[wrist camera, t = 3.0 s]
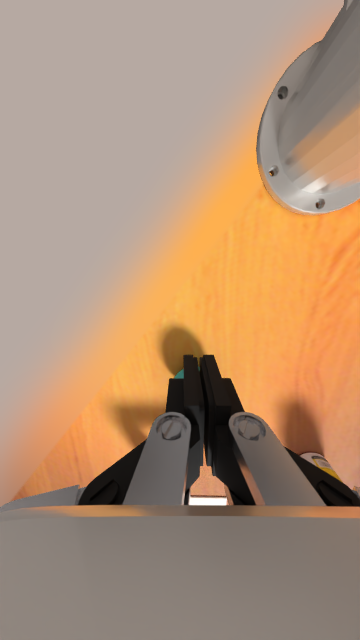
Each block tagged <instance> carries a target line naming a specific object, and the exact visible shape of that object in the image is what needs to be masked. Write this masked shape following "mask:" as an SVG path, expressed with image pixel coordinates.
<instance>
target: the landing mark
mask: <svg viewBox="0 0 360 640" xmlns="http://www.w3.org/2000/svg"><path fill="white" fill-rule="evenodd" d="M226 501H227V498H226V497H196V496H190V503H189V505H226Z"/></svg>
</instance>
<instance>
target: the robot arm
mask: <svg viewBox="0 0 360 640" xmlns="http://www.w3.org/2000/svg"><path fill="white" fill-rule="evenodd" d="M256 151H257V164H258V168H259V172H260V176H261V179H262V181H263V183H264V185H265V188H266V190H267V191H268V192H269V194H270V195H271V196H272V198H273V199H274V200H275V201H276V202H278V203H279V204H280V205H281V206H282V207H284V208H286V209H288V210H290V211H291V212H294V213H298V214H302V215H320V214H326V213H330V212H333V211H336V210H339V209H341V208H344V207H346V206H348V205H350V204H352V203H354V202H355V201H357V200H358V199H360V0H344V6H343V8H342V9H341V11H340V12H339V14H338V16H337V17H336V19H335V20H334V22H333V24H332V25H331V27H330V29H329V30H328V32H327V33H326V35H325V37H324V38H323V40H321V41H319V42H317V43H315V44H314V45H312V46H311V47H310V48H308V49H307V50H306V51H304V52H303V53H302V54H301V55H300V56H299V57H298V58H297V59H296V60H295V61H294V62H293V63H292V64H291V65H290V66H289V67H288V68H287V70H286V71H285V73H284V74H283V76H282V77H281V78H280V80H279V81H278V83H277V85H276V87H275V89H274V90H273V92H272V94H271V96H270V98H269V100H268V102H267V105H266V107H265V109H264V112H263V114H262V118H261V122H260V126H259V130H258V136H257V147H256ZM269 172H270V173H271V174H272V176H270V174H269ZM203 448H204V449H205V457H206V465H207V466H211V468H212V475H213V476H216V477H217V478H219V479H220V480H221V481H222V482H223V483H224V489H225V493H226V497H227V500H228V503H229V505H189V503H190V493H191V486H192V484H193V483H194V482H195V481H196V480H197V479H198V477H199V475H200V466H203ZM0 640H360V487H356V486H354V488H353V490H351V489H350V488H349V487H348V486H347V485H345V484H344V483H342V482H341V481H340V480H338V479H337V478H335V477H333V476H332V475H330V474H328V473H327V472H325V471H324V470H322V469H320V468H319V467H317V466H315V465H314V464H312V463H310V462H309V461H307V460H305V459H304V458H302V457H301V456H299V455H297V454H296V453H294V452H292V451H291V450H289V449H287V448H286V447H284V446H283V445H282V444H281V442H280V441H279V440H278V438H277V437H276V435H275V434H274V433H273V431H272V430H271V429H270V427H269V426H268V424H267V423H266V422H265V421H264V420H263V419H261V418H260V417H259V416H257V415H254V414H252V413H248V412H245V411H244V409H243V407H242V404H241V402H240V400H239V397H238V395H237V393H236V390H235V388H234V386H233V383H232V381H231V379H230V378H222V377H221V375H220V372H219V369H218V366H217V363H216V360H215V358H214V355H203V357H200V366H199V367H198V361H197V357H193V355H184V378H170V379H169V386H168V395H167V404H166V412H165V413H164V414H162V415H160V416H159V417H157V418H156V419H155V421H154V422H153V424H152V427H151V430H150V432H149V435H148V438H147V439H146V440H145V441H144V442H142V443H141V444H140V445H138V446H137V447H136V448H134V449H133V450H132V451H131V452H129V453H128V454H127V455H125V456H124V457H123V458H121V459H120V460H119V461H117V462H116V463H115V464H113V465H112V466H111V467H109V468H108V469H107V470H105V471H104V472H103V473H101V474H100V475H99V476H97V477H96V478H95V479H94V480H93V481H92V482H91V483H90V484H88V486H87V487H84V488H80V485H75V486H71V487H67V488H63V489H59V490H55V491H51V492H47V493H43V494H39V495H34V496H30V497H26V498H22V499H18V500H14V501H12V502H9V503H7V504H5V505H3V506H2V507H0Z"/></svg>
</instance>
